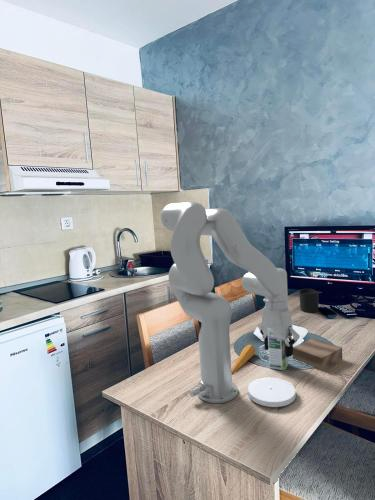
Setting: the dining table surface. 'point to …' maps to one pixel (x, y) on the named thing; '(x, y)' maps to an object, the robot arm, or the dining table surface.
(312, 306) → the pen holder
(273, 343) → the syrup box
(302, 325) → the dining table surface
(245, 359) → the carrot
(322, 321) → the dining table surface
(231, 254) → the robot arm
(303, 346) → the walnut block
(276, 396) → the plastic lid
